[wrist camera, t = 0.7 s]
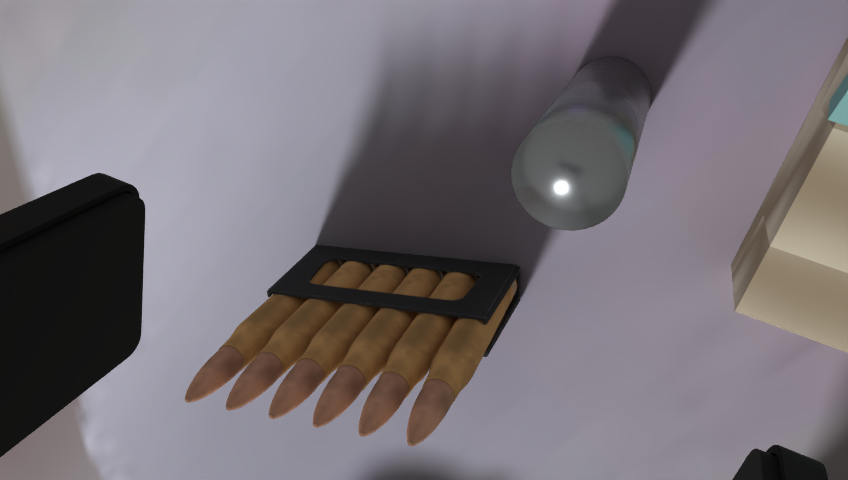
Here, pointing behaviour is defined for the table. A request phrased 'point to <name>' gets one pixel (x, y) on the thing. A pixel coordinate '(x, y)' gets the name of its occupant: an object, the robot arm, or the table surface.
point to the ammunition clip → (367, 335)
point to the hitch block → (803, 233)
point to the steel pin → (583, 146)
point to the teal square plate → (839, 104)
